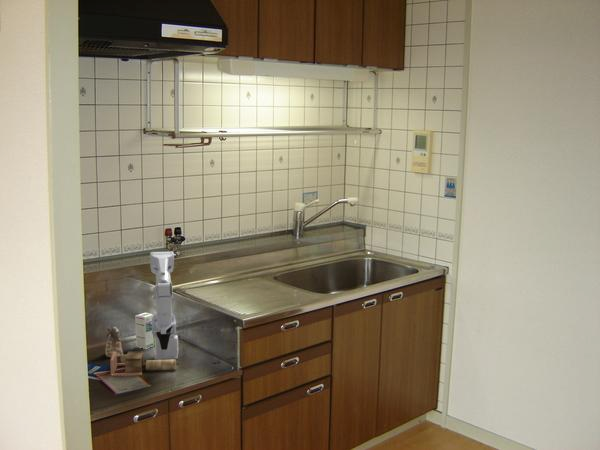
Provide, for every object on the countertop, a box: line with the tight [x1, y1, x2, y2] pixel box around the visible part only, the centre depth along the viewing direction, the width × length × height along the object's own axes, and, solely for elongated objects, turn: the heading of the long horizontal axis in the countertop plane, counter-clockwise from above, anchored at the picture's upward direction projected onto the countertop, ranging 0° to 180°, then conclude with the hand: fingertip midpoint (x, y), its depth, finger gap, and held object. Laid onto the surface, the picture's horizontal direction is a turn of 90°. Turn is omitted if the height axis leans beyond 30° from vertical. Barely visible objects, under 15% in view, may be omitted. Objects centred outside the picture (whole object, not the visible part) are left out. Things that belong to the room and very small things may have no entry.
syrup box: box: [134, 312, 155, 350], centre depth 304 cm, size 6×6×14 cm
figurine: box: [104, 326, 124, 358], centre depth 294 cm, size 7×7×12 cm
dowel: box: [145, 359, 177, 371], centre depth 279 cm, size 12×4×4 cm, turn 97°
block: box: [124, 350, 145, 374], centre depth 277 cm, size 6×9×6 cm, turn 7°
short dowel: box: [120, 354, 127, 363], centre depth 287 cm, size 8×3×3 cm
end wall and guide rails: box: [109, 352, 146, 377], centre depth 277 cm, size 12×12×6 cm
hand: (165, 346), depth 278 cm, fingers open, 7 cm apart
